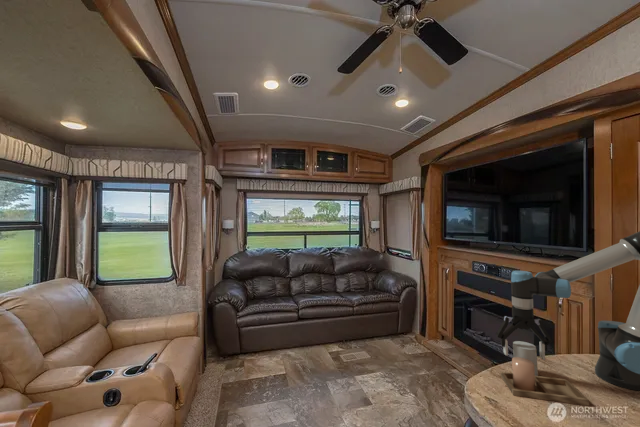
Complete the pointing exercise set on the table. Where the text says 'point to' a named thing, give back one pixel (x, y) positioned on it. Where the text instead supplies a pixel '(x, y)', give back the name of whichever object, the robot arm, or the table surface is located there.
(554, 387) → the caddy
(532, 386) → the tan rounded cylinder
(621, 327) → the robot arm
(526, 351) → the grey cylinder
